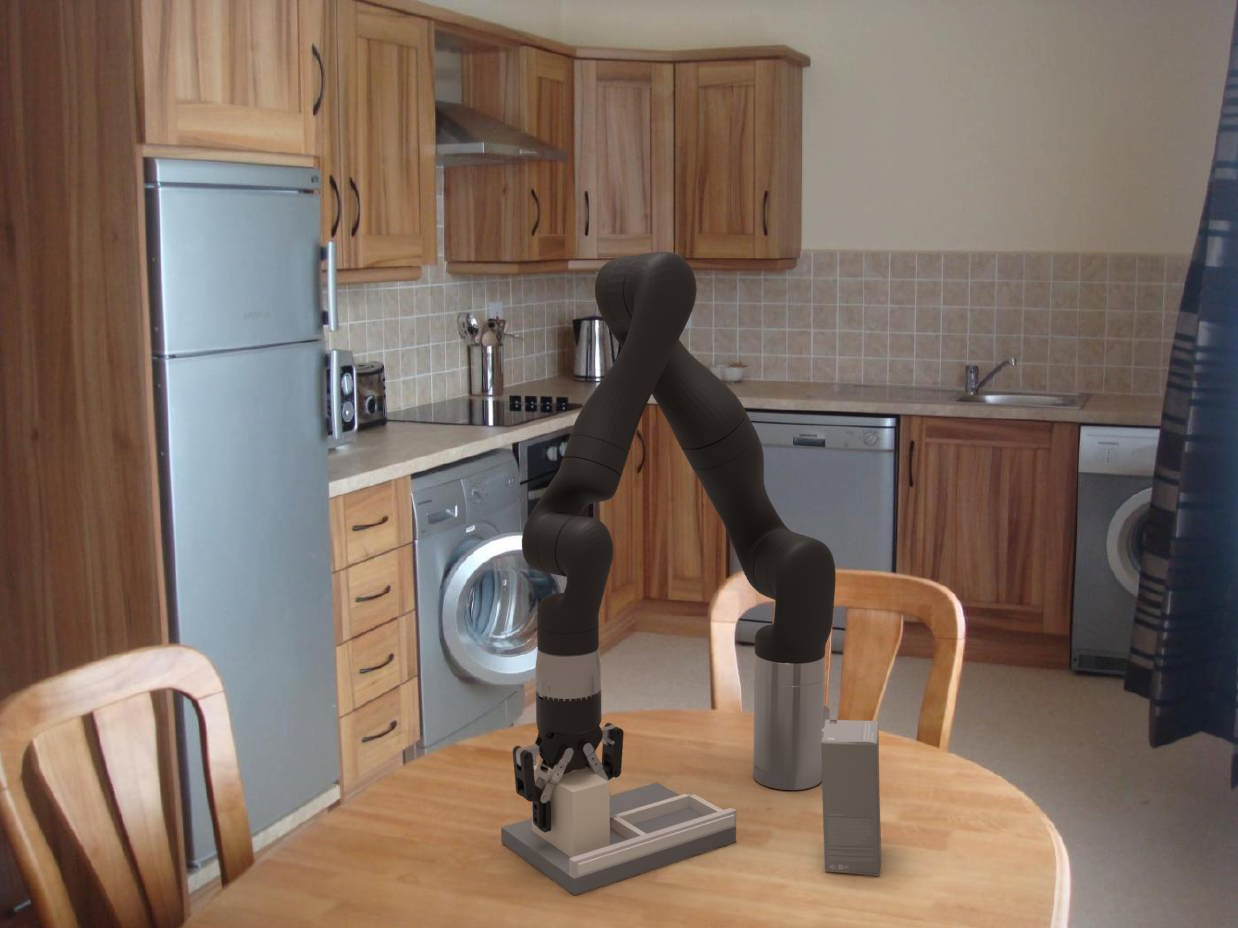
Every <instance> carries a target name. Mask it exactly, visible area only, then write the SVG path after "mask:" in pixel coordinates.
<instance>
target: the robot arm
mask: <svg viewBox="0 0 1238 928" xmlns="http://www.w3.org/2000/svg"><path fill="white" fill-rule="evenodd" d="M594 296H595V301H596V305H597V310H598V311H599V314H600V316H601V318H602V320H603V322H604V323H605V325H606V327H607V328H608V329H609V331H610V333H611V335H613V337H614V338H615V340H616V341H617V343H618V344H619V345H620V347H621V349H620V352H619V353H618V356H617V357H616V359H615V361H614V362H613V364H612V366H611V367H610V369H609V370H608V372H607V373H606V375H605V376H604V377H603V379H602V380H601V381H600V383H598V385H597V387H596V388H595V389H594V390H593V391H592V393H591V394H590V396H589V398H588V399H587V400H586V402H585V404H584V405H583V407H582V408H581V410H580V411H579V413H578V415H577V417H576V418H575V419H576V420H575V421H574V424H573V427H572V429H571V431H570V435H569V438H568V441H567V444H566V447H565V450H564V453H563V456H562V460H561V462H560V467H559V469H558V471H557V473H556V474H555V476H554V477H553V478H552V480H551V481H550V483H549V484H548V486H547V487H546V489H545V491H544V492H543V494H542V495H541V497H540V499H539V500H538V502H537V503H536V504H535V506H534V508H533V509H532V510H531V513H530V514H529V515H528V518H527V520H526V522H525V525H524V528H523V531H522V535H521V536H522V537H521V551H522V556H523V558H524V559H525V562H526V564H527V565H528V566H529V567H530V568H532V569H534V570H535V571H538V572H541V573H545V574H550V575H551V574H552V575H556V576H560V577H566V583H565V584H566V585H565V588H564V591H563V592H557V593H554V594H553V593H552V594H549V595H546V596H545V597H543V598H542V599H541V600H540V601H539V603H538V606H537V612H536V613H537V614H536V626H537V627H536V630H537V631H536V634H537V637H536V638H537V639H536V640H537V642H536V643H537V650H536V651H537V652H536V660H535V722H536V726H537V736H536V739H535V742H534V743H533V744H531V745H528V746H525V747H524V746H523V747H522V746H520V745H516V746H514V747H513V748H512V759H513V762H512V763H513V770H514V771H513V773H514V779H515V780H514V781H515V782H514V783H515V793H516V794H517V795H519V796H520V797H522V798H524V799H525V800H526V801H528V802H530V803H531V808H532V807H533V823H534V825H536V826H537V827H538V829H540V830H541V831H543V832H544V833H545V832H549V831H551V802H550V801H549V798H550V796H551V794H552V791H553V789H554V787H555V786H556V785H558V784H559V782H560V780H561V777H562V775H563V774H567V773H569V772H571V771H573V770H582V769H585V768H586V769H588V770H590V771H591V772H593V773H595V774H596V775H598V776H600V777H602V778H603V779H605V780H607V781H609V782H610V780H612V779H613V778H616V779H617V778H619V777H620V776H621V773H622V766H623V765H622V764H623V763H622V762H623V749H624V734H625V733H624V729H622V728H620V727H619V726H617V725H615V724H613V723H611V722H607V723H605V724H604V725H603V726H602V727H601V723H602V663H601V655H600V639H599V638H600V633H599V632H600V629H599V628H600V627H599V614H600V611H601V610H600V609H601V605H602V601H603V599H604V598H603V597H604V595H605V589H606V585H607V582H608V579H609V575H610V572H611V571H610V570H611V567H612V563H613V559H614V543H613V538H612V535H611V533H610V531H609V529H608V527H607V526H606V524H605V523H604V522H602V521H601V520H599V519H597V518H594V517H590V516H582V515H581V514H582V512H583V511H584V510H585V509H586V507H587V506H589V505H591V504H594V503H601V502H606V501H608V500H611V499H612V498H613V497H614V496H615V494H616V492H617V490H618V488H619V486H620V481H621V478H622V477H623V472H624V470H625V466H626V464H627V460H628V456H629V453H630V451H631V448H632V444H633V440H634V438H635V435H636V432H637V429H638V427H639V425H640V422H641V419H642V416H643V414H644V411H645V409H646V407H647V405H648V402H649V400H650V398H651V396H652V397H653V399H654V400H655V402H656V404H657V406H658V408H659V409H660V411H661V412H662V414H663V416H664V418H665V419H666V421H667V423H668V424H669V426H670V429H671V431H672V433H673V435H674V437H675V439H676V441H677V443H678V445H679V446H680V448H681V450H682V452H683V455H685V457H686V459H687V461H688V463H689V465H690V467H691V469H692V471H693V472H694V473H695V475H696V477H697V478H698V480H699V481H700V484H701V485H702V487H703V490H704V491H705V493H706V495H707V498H709V500H710V502H711V504H712V506H713V507H714V509H715V510H716V512H717V514H718V516H719V517H720V519H721V521H722V523H723V525H724V528H725V531H726V533H727V534H728V538H729V539H730V542H731V544H732V547H733V549H734V552H735V555H736V557H737V559H738V562H739V564H740V567H741V569H742V571H743V574H744V576H745V578H746V580H747V581H748V583H749V584H750V586H751V587H752V588H753V589H754V590H755V591H756V592H758V593H759V594H760V595H762V596H764V597H765V598H768V599H771V600H772V601H773V600H774V601H775V602H774V614H773V615H774V617H773V623H772V624H766V625H764V626H762V627H761V628H759V629H758V630H757V631H756V633H755V636H754V665H753V666H754V668H753V669H754V670H753V671H754V673H753V675H754V681H753V682H754V683H753V684H754V685H753V688H754V689H753V748H752V749H753V760H752V762H753V763H752V764H753V765H752V766H753V767H752V769H753V770H752V777H753V779H754V780H755V781H756V782H757V783H759V784H761V785H763V786H764V787H768V788H772V789H776V790H784V791H799V790H801V791H802V790H806V789H810V788H813V787H815V786H818V785H820V784H821V783H822V759H821V741H822V735H823V732H822V728H824V724H825V720H831V719H830V717H831V715H830V713H831V712H830V708H829V707H828V706H827V705H825V693H826V692H825V687H826V686H825V685H826V683H825V682H826V646H827V643H828V640H829V637H830V635H831V632H832V630H833V629H832V627H833V621H834V607H835V597H836V596H835V595H836V565H835V559H834V555H833V554H832V551H831V549H830V548H829V547H828V545H827V544H826V543H824V542H822V541H821V540H819V539H816V538H813V537H811V536H807V535H804V534H802V533H798V532H794V531H792V530H791V529H790V528H788V527H787V526H786V524H785V523H784V521H783V520H782V518H781V517H780V516H779V514H778V511H776V509H775V507H774V505H773V503H772V501H771V500H770V497H769V496H768V492H767V490H766V486H765V460H764V459H765V458H764V450H763V445H762V442H761V440H760V437H759V435H758V432H757V430H756V429H755V426H754V424H753V422H752V420H751V419H750V417H749V415H748V413H747V411H746V408H745V407H744V405H743V404H742V402H741V401H740V399H739V397H738V396H737V395H736V394H735V392H734V391H732V390H731V388H730V387H728V385H726V383H724V381H722V380H721V379H720V378H719V377H718V376H717V375H716V374H715V373H713V372H712V371H711V370H710V369H709V368H708V367H706V366H705V365H704V364H702V363H701V362H700V361H699V360H698V359H697V358H696V357H695V356H694V355H693V354H691V352H690V351H689V350H688V349H687V348H686V347H685V345H684V343H682V341H681V340H680V338H681V335H682V334H683V331H684V330H685V328H686V326H687V324H688V322H689V320H690V317H691V314H692V312H693V309H694V307H695V302H696V299H697V280H696V276H695V273H694V271H693V269H692V267H691V265H690V264H689V262H688V261H687V260H686V259H685V258H684V257H682V256H681V255H679V254H677V253H675V252H671V251H655V252H645V253H638V254H632V255H627V256H621V257H617V258H614V259H610V260H609V261H608V262H606V263H604V264H603V265H602V267H601V268H600V269H599V270H598V273H597V275H596V278H595V283H594ZM601 743H602V747H601V748H602V750H601V760H600V759H599V757H598V755H597V753H596V751H597V749H598V747H599V745H600V744H601ZM538 756H540V760H539V762H537V757H538ZM537 763H538V764H537ZM536 765H538V766H537V768H536V771H535V774H536V777H534V766H536ZM548 768H551V769H552V772H551V774H550V773H549V772H548Z"/></svg>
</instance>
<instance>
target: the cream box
mask: <svg viewBox="0 0 1238 928" xmlns="http://www.w3.org/2000/svg"><path fill="white" fill-rule="evenodd" d="M533 766H534V777H536V774H535V771H536V768H537V766H538V764H536V765H533ZM548 772H549V773H550V774H551V772H552V769H551V768H548ZM610 786H611V785H610V780H609V781H607V780H605V779H603V778H602V777H600V776H598V775H596V774H595V773H593V772H591V771H590V770H588V769H586V768H585V769H582V770H573V771H571V772H569V773H567V774H563V775H562V777H561V780H560V782H559V784H558V785H556V786H555V787H554V789H553V791H552V794H551V796H550V798H549V801H550V802H551V831H549V832H545V833H544V832H543V831H541V830H540V829H538V827H537V826H536V825H534V823H533V807H532V806H531V818H532V831H533V832H535V833H536V834H538V835H539V836H540V837H542V838H543V839H545V840H546V841H548V842H549V843H551V844H552V845H554V846H555V847H556V848H558V849H559V850H561V851H562V852H564V853H565V854H567V855H568V856H570V857H571V858H572V857H575V856H578V855H581V854H584V853H588V852H591V851H594V850H597V849H600V848H604V847H607V846H610V796H611V795H610V789H611V787H610Z"/></svg>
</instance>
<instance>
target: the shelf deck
mask: <svg viewBox="0 0 1238 928" xmlns="http://www.w3.org/2000/svg"><path fill="white" fill-rule="evenodd" d="M500 831H501V833H500V834H501V839H500V840H501V844H502V845H504V846H505V847H506V848H508V849H509V850H511V851H512V852H513V853H515V854H516V855H517V856H519V857H520V858H522V859H523V860H524V861H526V862H527V863H529V864H530V865H532V866H533V867H534V868H536V870H538V871H539V872H541V873H542V874H544V875H545V876H547V877H548V878H549V879H551V880H552V881H553V882H554V883H556V884H557V885H559V886H560V887H562V888H563V889H564V890H566V891H567V892H568V893H570V894H571V895H572V896H574V897H575V896H577V895H580V894H584V893H586V892H590V891H592V890H596V889H598V888H602V887H604V886H605V887H606V886H608V885H611V884H613V883H616V882H620V881H622V880H623V881H624V880H625V879H629V878H632V877H635V876H638V875H641V874H644V873H647V872H651V871H654V870H656V869H659V868H662V867H665V866H668V865H671V864H674V863H677V862H680V861H683V860H685V859H689V858H692V857H695V856H699V855H701V854H704V853H707V852H710V851H714V850H716V849H719V848H722V847H725V846H728V845H732V844H734V843H737V810H736V809H734V808H733V807H729V808H726V809H722V808H721V807H719V806H716V805H715V804H713V803H711V802H709V801H708V800H705V799H703V798H702V797H700V796H699V795H696V794H694V793H693V792H687V793H683V794H678V793H677V792H675V791H673V790H671V789H669V788H668V787H666V786H664V785H663V784H660V783H659V782H658V781H657V782H653V783H649V784H647V785H643V786H639V787H637V788H636V787H635V788H633V789H632V788H631V789H629V790H626V791H622V792H619V793H615V794H611V795H610V846H607V847H604V848H600V849H597V850H594V851H591V852H588V853H584V854H581V855H578V856H575V857H572V858H571V857H570V856H568V855H567V854H565V853H564V852H562V851H561V850H559V849H558V848H556V847H555V846H554V845H552V844H551V843H549V842H548V841H546V840H545V839H543V838H542V837H540V836H539V835H538V834H536V833H535V832H533V831H532V817H531V818H529V819H525V820H521V821H518V822H515V823H510V824H508V825H505V826H501V829H500Z"/></svg>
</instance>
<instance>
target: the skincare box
mask: <svg viewBox="0 0 1238 928" xmlns="http://www.w3.org/2000/svg"><path fill="white" fill-rule="evenodd" d="M879 726H880V725H879V721H878V720H855V719H854V720H852V719H851V720H849V719H829V720H825V724H824V728H822V732H823V735H822V741H821V759H822V781H821V792H822V826H823V827H822V828H823V852H824V870H825V872H829V873H830V872H831V873H846V874H859V875H868V876H877V877H879V876H880V875H881V867H882V836H881V835H882V834H881V833H882V831H881V829H882V827H881V805H880V804H881V802H880V801H881V799H880V798H881V797H880V751H879V750H880V748H879V747H880V743H879V742H880V739H879V738H880V736H879V735H880V734H879V733H880V732H879V731H880V730H879Z"/></svg>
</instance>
